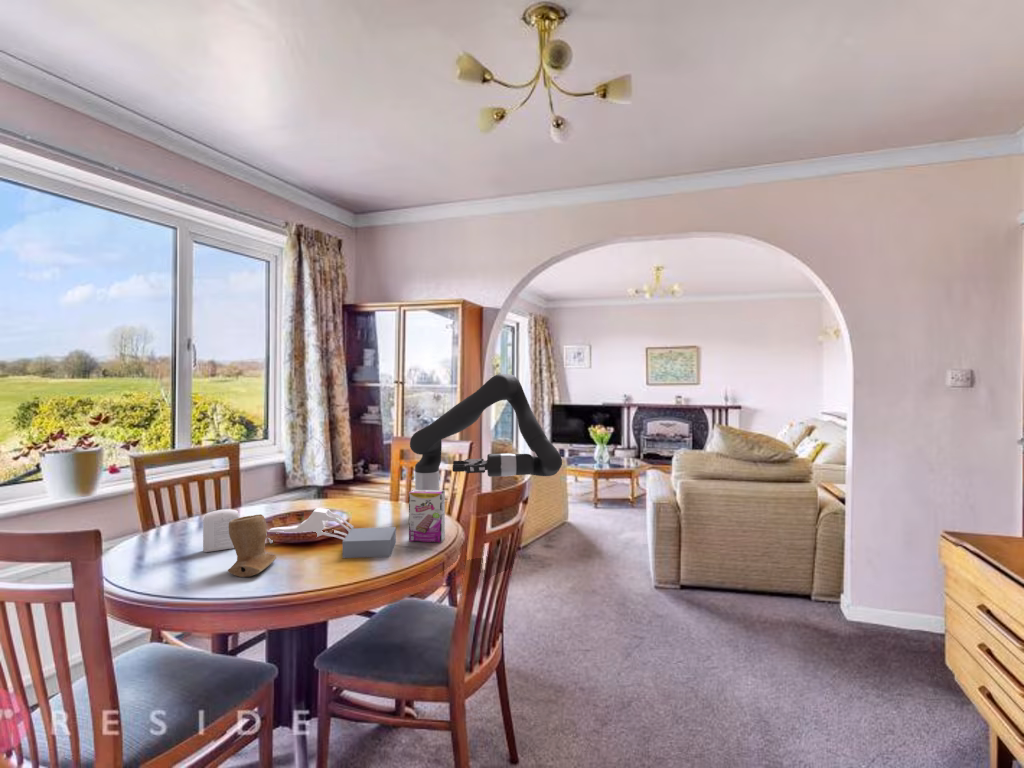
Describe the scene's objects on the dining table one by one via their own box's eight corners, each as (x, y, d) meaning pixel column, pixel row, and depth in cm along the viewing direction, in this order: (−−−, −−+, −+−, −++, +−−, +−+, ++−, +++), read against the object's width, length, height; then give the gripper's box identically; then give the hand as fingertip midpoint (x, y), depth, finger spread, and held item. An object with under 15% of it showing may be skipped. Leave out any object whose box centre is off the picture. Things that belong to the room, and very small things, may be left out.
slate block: (352, 543, 177) (351, 528, 177) (395, 542, 178) (395, 527, 178) (342, 558, 163) (342, 541, 163) (390, 556, 164) (390, 539, 164)
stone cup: (240, 560, 161) (239, 510, 161) (281, 560, 162) (281, 509, 161) (214, 580, 146) (214, 524, 146) (260, 579, 146) (259, 523, 146)
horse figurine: (338, 564, 183) (266, 538, 181) (356, 519, 183) (285, 492, 181) (334, 570, 178) (260, 543, 176) (353, 523, 178) (280, 495, 176)
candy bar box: (408, 542, 178) (407, 492, 178) (412, 537, 183) (412, 489, 183) (442, 543, 177) (441, 492, 177) (445, 538, 182) (445, 489, 182)
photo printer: (239, 544, 177) (238, 506, 177) (240, 547, 173) (240, 509, 173) (202, 550, 171) (202, 510, 171) (203, 553, 168) (203, 513, 167)
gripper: (500, 450, 189) (453, 452, 187) (503, 456, 175) (452, 457, 173) (500, 472, 189) (453, 473, 188) (503, 480, 175) (452, 481, 173)
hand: (452, 466), depth 180 cm, fingers open, 8 cm apart
